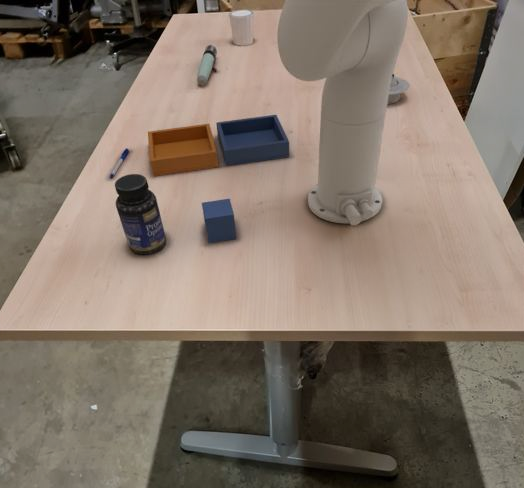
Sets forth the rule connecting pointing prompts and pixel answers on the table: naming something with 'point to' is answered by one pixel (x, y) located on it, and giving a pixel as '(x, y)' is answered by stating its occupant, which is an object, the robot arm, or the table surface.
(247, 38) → the white cylinder
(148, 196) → the pill bottle
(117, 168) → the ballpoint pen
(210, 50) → the flashlight
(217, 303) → the table surface
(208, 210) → the block
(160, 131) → the amber tray
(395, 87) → the grey flanged cylinder
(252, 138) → the blue tray
